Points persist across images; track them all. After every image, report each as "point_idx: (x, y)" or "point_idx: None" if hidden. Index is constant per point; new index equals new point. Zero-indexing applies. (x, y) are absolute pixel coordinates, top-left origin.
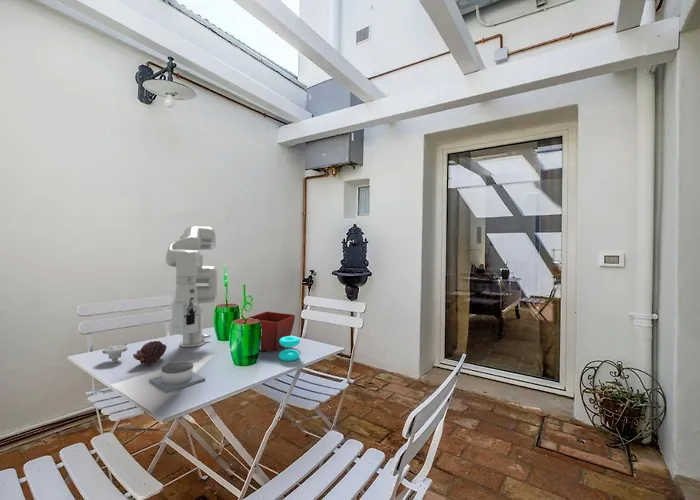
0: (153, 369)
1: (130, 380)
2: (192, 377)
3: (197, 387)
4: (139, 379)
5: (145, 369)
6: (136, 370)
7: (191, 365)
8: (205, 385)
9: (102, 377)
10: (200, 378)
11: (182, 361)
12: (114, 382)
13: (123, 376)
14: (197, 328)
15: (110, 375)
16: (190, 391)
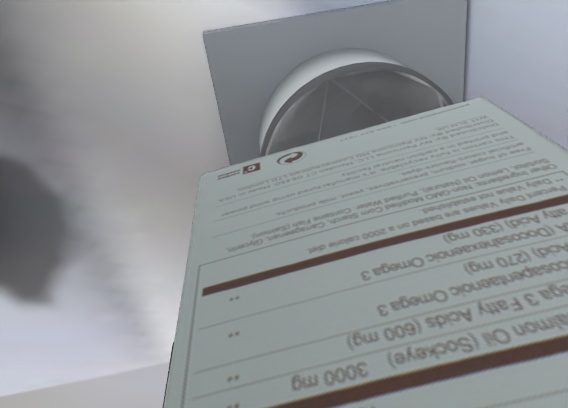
0: (49, 194)
1: (172, 305)
2: (394, 57)
3: (517, 68)
4: (184, 274)
5: (26, 229)
6: (20, 267)
7: (421, 89)
8: (531, 18)
9: (55, 384)
10: (451, 20)
11: (284, 116)
12: (157, 354)
13: (91, 322)
14: (507, 120)
15: (43, 360)
16: (532, 116)
